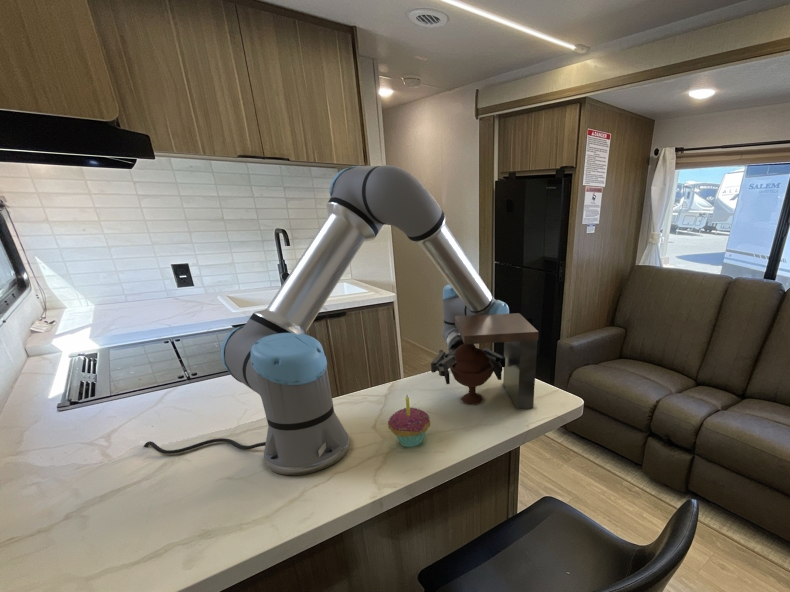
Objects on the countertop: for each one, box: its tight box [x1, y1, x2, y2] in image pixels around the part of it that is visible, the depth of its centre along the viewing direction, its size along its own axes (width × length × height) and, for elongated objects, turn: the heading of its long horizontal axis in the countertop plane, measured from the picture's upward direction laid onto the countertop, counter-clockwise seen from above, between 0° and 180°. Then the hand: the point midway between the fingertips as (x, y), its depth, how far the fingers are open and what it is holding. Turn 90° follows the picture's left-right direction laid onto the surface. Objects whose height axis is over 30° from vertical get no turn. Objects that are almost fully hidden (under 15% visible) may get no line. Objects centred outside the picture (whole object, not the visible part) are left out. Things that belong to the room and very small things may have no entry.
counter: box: [455, 312, 540, 411], centre depth 100 cm, size 17×16×20 cm
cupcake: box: [387, 394, 431, 448], centre depth 83 cm, size 9×8×12 cm
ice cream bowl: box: [449, 344, 494, 406], centre depth 100 cm, size 11×11×15 cm
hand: (474, 377), depth 96 cm, fingers open, 12 cm apart
